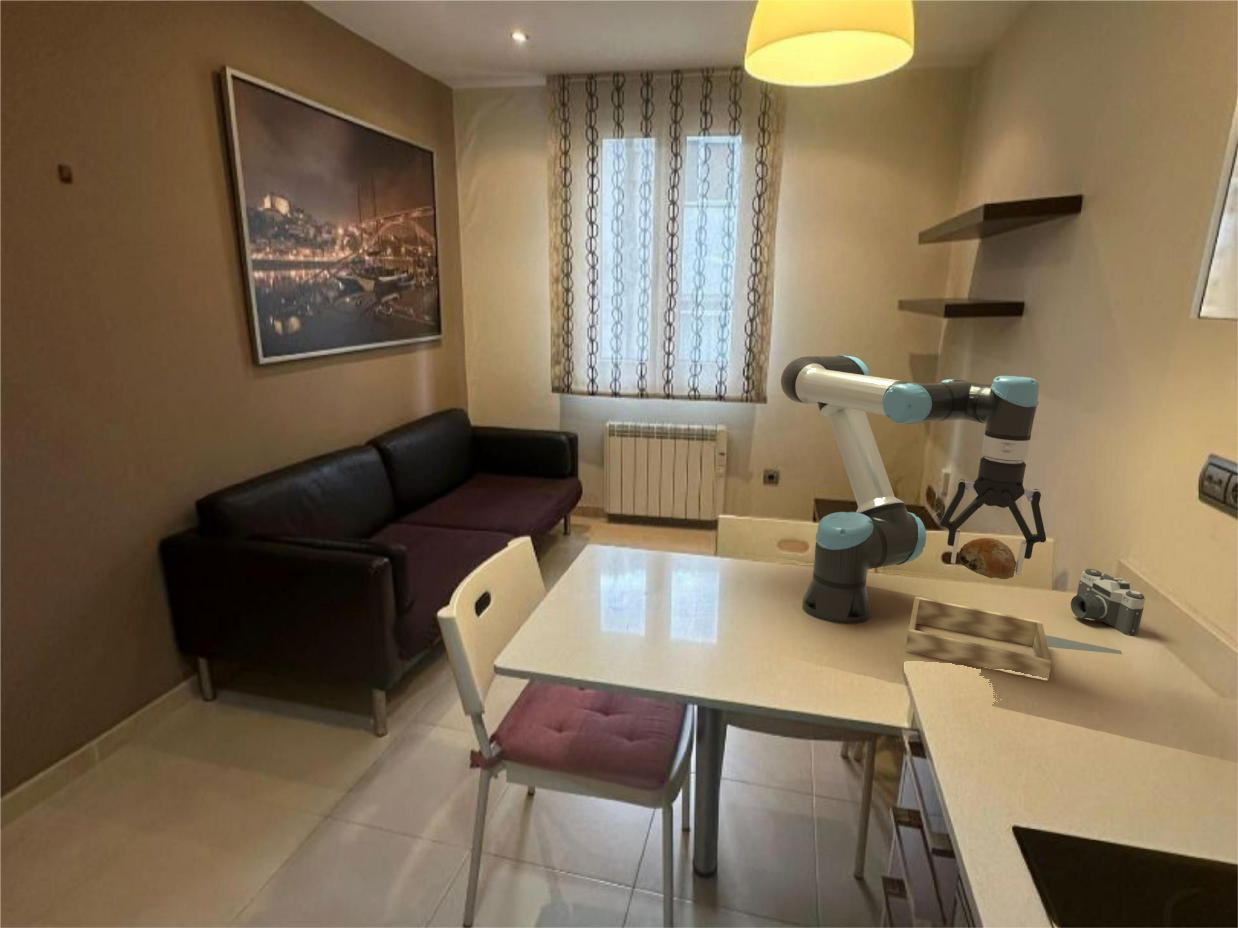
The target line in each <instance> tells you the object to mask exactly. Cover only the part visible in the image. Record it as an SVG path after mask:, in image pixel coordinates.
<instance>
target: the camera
mask: <svg viewBox="0 0 1238 928" xmlns="http://www.w3.org/2000/svg"><path fill="white" fill-rule="evenodd" d="M1078 581H1079V583H1078V587H1077V592H1076V595H1074V596H1073V597H1072V599H1071V601H1070V609H1071V612H1072V613H1073V615H1074V616H1075V617H1077V618H1078V619H1082V620H1083V619H1086V620H1087V619H1091V620H1098V621H1100V622H1102V623H1104V624H1106V625H1109V627H1112V628H1114V629H1115V630H1117V631H1118V632H1120V633H1122V634H1123V635H1127V636H1136V635H1138V634H1139V630H1140V625H1141V621H1142V617H1143V613H1144V608H1145V607H1144V606H1145V605H1144V604H1145V601H1146V597H1145V596H1144V594H1143V593H1141V592H1139V591H1136V590H1132V589H1131V587H1130V586H1131V582H1130V581H1126V580H1124V579H1123V578H1121V577H1119V578H1116V577H1113V576H1110V575H1109V574H1107V572H1105V571H1103V573H1102V572H1101V571H1099V570H1097V569H1095V568H1086V569H1085V570H1083V571H1081V577H1080V579H1079V580H1078Z"/></svg>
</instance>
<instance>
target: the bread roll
mask: <svg viewBox="0 0 1238 928" xmlns="http://www.w3.org/2000/svg"><path fill="white" fill-rule="evenodd" d="M958 560H959V561H960V564H962V565H963V566H964V567H965V568H966V569H968V570H970V571H972V572H974V573H976V574H978V575H981V576H984V577H987V578H989V579H994V578H995V579H999V580H1007V579H1011V578H1012V579H1013V578H1014V575H1015V572H1016V564H1017V560H1016V558H1015V555H1014V553H1013V551H1012V549H1011V548H1010V547H1009V545H1007V544H1005V543H1004V542H1003V541H1000V540H999V539H998V538H997V539H996V538H991V537H981V538H980V537H979V538H977V539H972V540H970V541H968V542H966V543H965V544H963V546H962V547H960V550H959V551H958Z"/></svg>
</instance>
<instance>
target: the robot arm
mask: <svg viewBox="0 0 1238 928" xmlns="http://www.w3.org/2000/svg"><path fill="white" fill-rule="evenodd" d="M782 371H783V372H782V374H781V378H780V386H781V390H782V392H783V393H784V395H785V396H786V397H787V398H788V399H790V401H793V402H796V403H799V404H800V403H801V404H807V405H814V404H815V405H816V404H817V405H818V406H817V407H818V409H819V412H820V414H821V415H822V416H824V417H826V418H828V419H829V422H830V425H831V428H832V432H833V434H834V437H835V441H836V444H837V447H838V449H839V453H840V455H841V458H842V462H843V465H844V469H845V471H846V475H847V477H848V480H849V483H850V486H851V489H852V492H853V496H854V498H855V501H856V504H857V509H856V511H849V512H846V511H838V512H833V513H829V514H827V515H825V516H823V517H822V518H821V519H820V520H819V522H818V524H817V530H816V531H817V532H816V534H815V547H814V561H813V572H812V579H811V581H810V583H809V585H808V587H807V590H806V592H805V593H804V595H803V597H802V605H801V607H802V610H803V612H805V613H806V614H807V615H809V616H810V617H813V618H815V619H818V620H821V621H824V622H829V623H834V624H843V625H856V624H863V623H865V622H867V621H869V620H870V618H871V615H872V609H871V604H870V603H871V602H870V600H869V595H868V591H867V588H866V587H867V586H866V584H867V576H868V570H872V569H873V570H874V569H878V568H883V567H888V566H889V567H890V566H894V565H895V566H900V565H903V564H905V563H909V562H913V561H914V560H917V559H918V558H919V557H920V556H921V554H922V553H923V552H924V551H923V550H924V548H925V547H926V543H927V530H926V527H925V525H924V523H923V521H922V520H921V517H919V516H917V515H916V514H915V513H913V512H909V511H908V509H907V507H906V504H905V502H904V501H903V500H901V499H899V498H897V497H895V494H894V490H893V488H892V485H891V482H890V480H889V477H888V474H887V470H886V468H885V465H884V462H883V459H882V456H881V453H880V450H879V448H878V445H877V441H876V438H875V436H874V433H873V430H872V427H871V425H870V422H869V419H868V415H867V413H871V414H874V415H880V416H885V417H887V418H888V419H889V420H890V421H891V422H893V423H896V424H906V425H907V424H908V425H913V424H918V423H927V422H928V423H929V422H945V421H947V422H948V421H958V420H959V421H960V420H963V421H970V422H974V423H975V422H976V423H981V424H985V429H984V430H985V432H984V436H983V441H982V449H981V455H982V457H981V458H980V461H979V466H978V472H977V478H976V479H975V480H974V481H967V480H965V479H959V481H958V485H957V490H956V492H955V494H954V496H953V497H952V499H951V501H950V503H949V504H948V506H947V508H946V509H945V511H944V514H942V516H941V519H940V521H939V524H940V526H941V527H942V528H945V529H948V536H947V546H950V547H952V551H951V556H950V558H951V559H950V564H956V561H957V553H958V548H959V541H960V535H961V528H960V527H961V526H962V525H963V524H964V523H965V522H966V521H967V520H968V519H969V518H970V517H971V516H972V515H973V514H974V513H975V512H976V511H977V510H979V509H980V508H981V507H982V506H983V505H986V506H988V507H995V506H996V507H998V508H1000V509H1001V508H1002V509H1005V508H1008V509H1009V511H1010V512H1011V514H1012V516H1013V518H1014V520H1015V521H1016V523H1017V526H1018V527H1019V529H1020V531H1021V533H1022V535H1023V536H1024V538H1025V539H1024V538H1021V539H1020V541H1019V542H1020V543H1019V548H1018V555H1017V558H1016V559H1017V560H1016V567H1015V575H1016V576H1019V577H1020V576H1022V571H1023V566H1024V561H1025V560H1024V559H1027V560H1030V559H1031V558H1032V555H1033V548H1034V545H1035V544H1036V543H1046V541H1047V536H1046V532H1045V527H1044V521H1043V518H1042V513H1041V508H1040V502H1041V501H1040V500H1041V497H1042V494H1041V491H1040V489H1038V488H1033V489H1030V488H1029V489H1028V488H1025V487H1024V480H1025V479H1024V478H1025V474H1026V473H1025V472H1026V467H1027V464H1026V463H1025V461H1026V460H1027V459H1028V456H1029V455H1028V454H1029V452H1030V451H1029V450H1030V444H1031V437H1032V430H1033V425H1034V420H1035V416H1036V411H1037V409H1038V408H1037V407H1038V405H1039V400H1038V399H1039V393H1040V392H1039V391H1040V383H1039V380H1037V379H1035V378H1033V377H1028V376H1027V377H1026V376H1016V375H999V376H996V377H995V378H993V380H992V384H987V383H986V384H985V383H980V382H973V381H969V380H968V381H967V380H965V379H943V380H941V382H933V383H932V382H927V383H926V382H925V383H924V382H914V381H913V382H912V381H906V380H898V379H893V378H886V377H879V376H872V375H871V374H870V372H869V371H870V370H869V369H868V367H867V365H866V364H865V362H863V361H862V360H861V359H859V358H858V357H856V356H851V355H850V356H849V355H845V354H837V355H833V356H832V355H825V356H824V355H821V356H818V355H817V356H815V355H814V356H811V355H810V356H809V355H808V356H800V357H798V358H796V359H793V360H791V362H789V363H788V364H787V365H786V367H785V368H784V369H783V370H782ZM971 489H973V490H974V491H975V492H976V495H977V496H976V497H975V498H974V499H973V500H972V502H970V504H968V505H967V506H966V507H965V508H964V510H962V511H961V512H960V514H958V516H956V518H955V519H954V520H952V521H951V518H952V517H953V515H954V513H955V512H956V510H957V509H958V507H959V504H960V502H962V500H963V497H964V495H965V493H969V492H970V490H971ZM1022 496H1025V498H1026V500H1027V501H1028V502H1030V507H1031V510H1032V516H1033V520H1034V525H1035V531H1036V533H1034V534H1033V533H1032V531H1031V529H1030V527H1029V525H1028V524H1027V522H1026V520H1025V518H1024V516H1023V514H1022V513H1021V510H1020V508H1019V506H1018V505H1017V501H1018V500H1019V499H1020V498H1021V497H1022Z"/></svg>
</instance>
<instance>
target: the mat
mask: <svg viewBox="0 0 1238 928" xmlns="http://www.w3.org/2000/svg"><path fill="white" fill-rule="evenodd" d="M1045 636H1046V641H1047V645H1048V648H1053V649H1054V648H1055V649H1064V650H1073V651H1074V650H1075V651H1085V652H1093V653H1094V652H1096V653H1106V654H1117V655H1123V652H1122V651H1121V650H1119V649H1115V648H1110V647H1106V646H1105V647H1104V646H1101V645H1094V644H1090V643H1086V642H1081V641H1077V640H1076V641H1075V640H1070V639H1065V638H1061V637H1057V636H1051V635H1047V634H1045Z"/></svg>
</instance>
